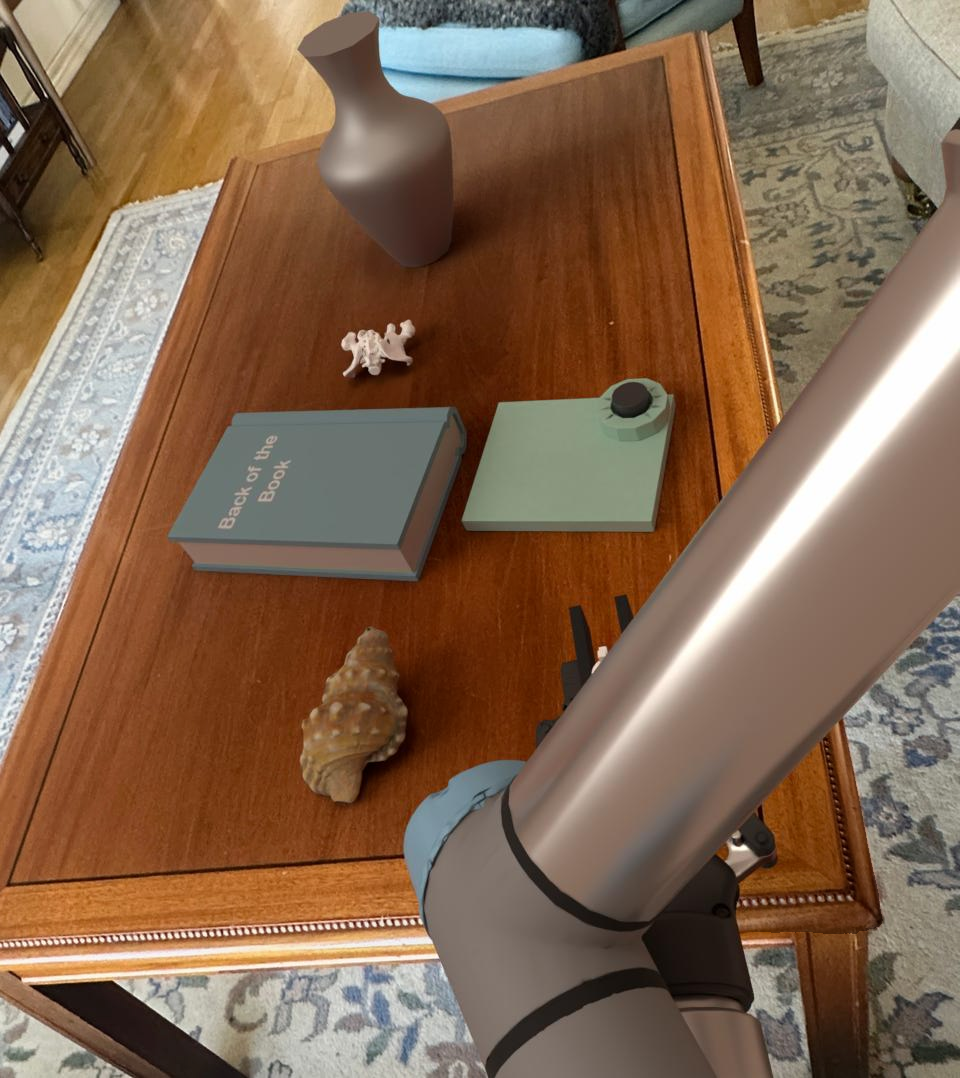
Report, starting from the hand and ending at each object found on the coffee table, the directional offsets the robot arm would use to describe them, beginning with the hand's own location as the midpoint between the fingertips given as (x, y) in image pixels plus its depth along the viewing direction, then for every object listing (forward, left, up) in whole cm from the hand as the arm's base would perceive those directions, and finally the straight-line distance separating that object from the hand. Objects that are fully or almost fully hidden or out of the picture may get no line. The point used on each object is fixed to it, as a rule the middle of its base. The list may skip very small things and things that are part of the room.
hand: (601, 613), depth 61 cm
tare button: (+3, -26, -8) cm, 28 cm away
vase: (+32, -56, -11) cm, 65 cm away
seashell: (+19, +4, -11) cm, 22 cm away
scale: (+8, -22, -10) cm, 25 cm away
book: (+30, -18, -11) cm, 37 cm away
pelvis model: (+31, -37, -11) cm, 49 cm away
